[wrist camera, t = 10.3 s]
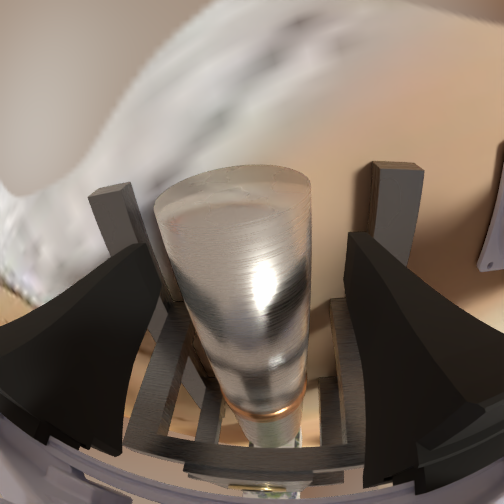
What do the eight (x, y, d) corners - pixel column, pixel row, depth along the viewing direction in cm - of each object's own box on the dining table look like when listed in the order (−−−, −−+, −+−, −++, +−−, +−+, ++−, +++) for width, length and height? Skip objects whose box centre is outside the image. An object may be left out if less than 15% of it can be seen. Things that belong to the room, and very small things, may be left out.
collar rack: (413, 162, 9) (574, 347, 2) (346, 407, 23) (350, 492, 15) (98, 188, 11) (-41, 336, 4) (207, 407, 25) (192, 488, 17)
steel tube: (186, 169, 11) (119, 232, 7) (311, 161, 10) (317, 226, 6) (246, 394, 22) (235, 445, 18) (304, 398, 21) (298, 451, 17)
